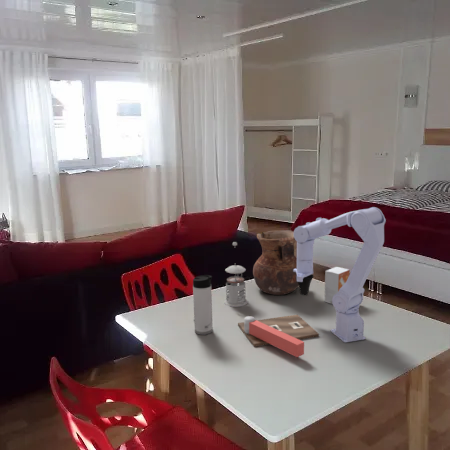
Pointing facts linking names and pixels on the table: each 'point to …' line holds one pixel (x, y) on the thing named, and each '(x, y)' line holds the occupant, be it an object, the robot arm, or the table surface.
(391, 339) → the table surface
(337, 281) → the small box
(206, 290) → the travel mug
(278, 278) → the jug
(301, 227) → the robot arm
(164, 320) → the table surface
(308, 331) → the label board
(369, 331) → the table surface
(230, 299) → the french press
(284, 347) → the swing arm
